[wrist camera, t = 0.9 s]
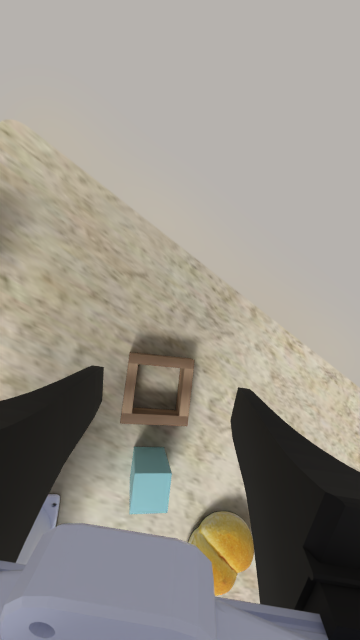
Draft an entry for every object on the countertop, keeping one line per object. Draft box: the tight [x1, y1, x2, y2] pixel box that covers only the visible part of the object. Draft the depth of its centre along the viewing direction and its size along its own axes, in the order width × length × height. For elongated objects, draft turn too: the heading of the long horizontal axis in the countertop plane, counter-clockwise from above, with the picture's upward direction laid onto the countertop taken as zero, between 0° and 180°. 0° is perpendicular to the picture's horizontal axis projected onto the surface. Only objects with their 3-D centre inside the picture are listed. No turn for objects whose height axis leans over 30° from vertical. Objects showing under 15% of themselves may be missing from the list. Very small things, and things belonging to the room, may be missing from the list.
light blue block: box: [130, 447, 172, 514], centre depth 27 cm, size 4×4×6 cm
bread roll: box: [188, 511, 254, 596], centre depth 29 cm, size 8×9×4 cm
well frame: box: [120, 352, 194, 426], centre depth 30 cm, size 8×8×2 cm
